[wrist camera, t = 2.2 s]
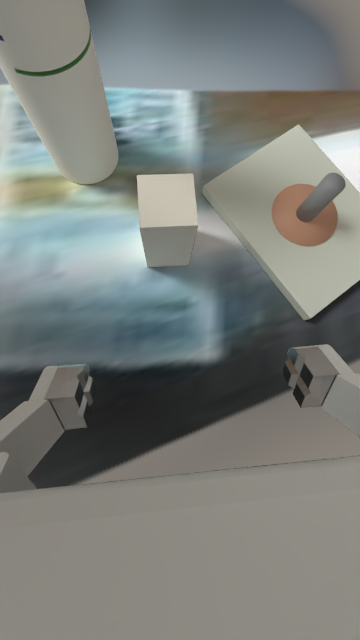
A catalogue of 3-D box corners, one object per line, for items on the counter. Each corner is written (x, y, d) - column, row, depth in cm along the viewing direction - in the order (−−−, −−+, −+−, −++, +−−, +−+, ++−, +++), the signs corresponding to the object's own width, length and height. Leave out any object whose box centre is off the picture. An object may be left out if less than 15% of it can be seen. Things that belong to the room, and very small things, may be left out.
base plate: (201, 192, 28) (211, 146, 22) (293, 133, 30) (325, 76, 24) (304, 320, 27) (345, 308, 21) (395, 249, 29) (457, 218, 23)
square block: (188, 265, 27) (198, 225, 19) (147, 267, 27) (139, 227, 19) (185, 226, 28) (193, 173, 20) (145, 228, 27) (136, 175, 20)
